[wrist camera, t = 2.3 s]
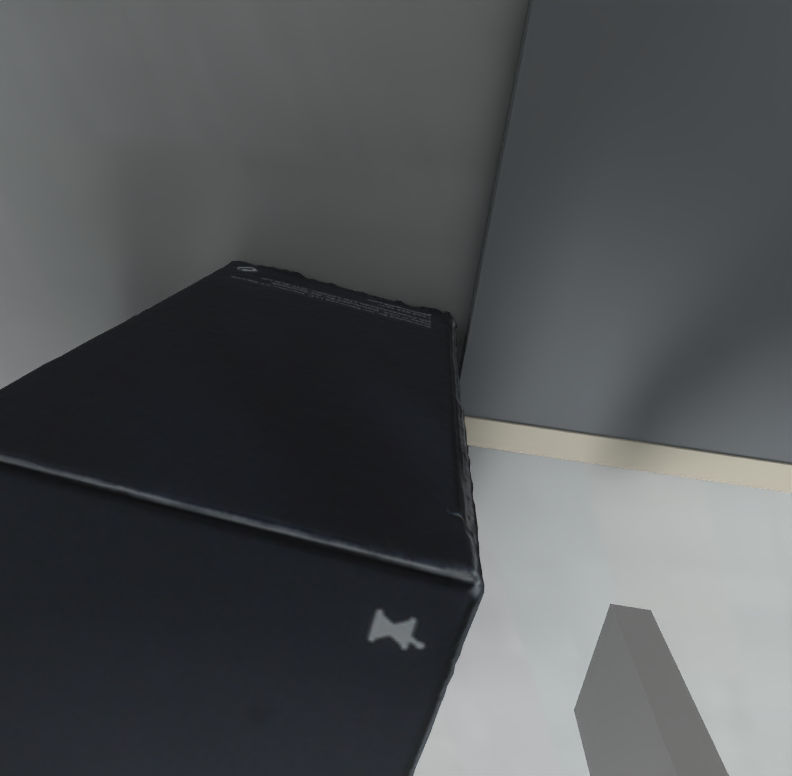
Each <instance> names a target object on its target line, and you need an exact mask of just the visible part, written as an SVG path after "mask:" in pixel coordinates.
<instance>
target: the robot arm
mask: <svg viewBox="0 0 792 776" xmlns="http://www.w3.org/2000/svg"><path fill="white" fill-rule="evenodd" d="M574 712H575V716H576V720H577V724H578V728H579V732H580V736H581V740H582V744H583V748H584V752H585V756H586V760H587V764H588V768H589V772H590V776H729V775H728V773H727V771H726V769H725V767H724V764H723V762H722V760H721V758H720V756H719V754H718V752H717V750H716V748H715V745H714V743H713V741H712V739H711V737H710V735H709V733H708V731H707V729H706V726H705V724H704V722H703V720H702V718H701V716H700V714H699V712H698V709H697V707H696V705H695V703H694V701H693V699H692V697H691V695H690V693H689V690H688V688H687V686H686V684H685V682H684V680H683V678H682V676H681V673H680V671H679V669H678V667H677V665H676V663H675V661H674V659H673V657H672V654H671V652H670V650H669V648H668V646H667V644H666V642H665V640H664V637H663V635H662V633H661V631H660V629H659V627H658V625H657V623H656V621H655V618H654V616H653V614H652V612H651V610H645V609H639V608H633V607H626V606H620V605H614V604H610V607H609V609H608V612H607V615H606V618H605V621H604V624H603V627H602V630H601V633H600V636H599V639H598V642H597V645H596V647H595V650H594V653H593V656H592V659H591V662H590V665H589V668H588V671H587V674H586V677H585V680H584V683H583V685H582V688H581V691H580V694H579V697H578V700H577V703H576V706H575V709H574Z"/></svg>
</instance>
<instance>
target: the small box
mask: <svg viewBox="0 0 792 776" xmlns="http://www.w3.org/2000/svg"><path fill="white" fill-rule="evenodd" d="M456 328H457V325H456V322H455V321H454V319H453V317H452V316H451V315H450V313H449V312H444V313H442V312H440V311H439V310H437V309H433V308H426V307H412V306H408V305H406V304H404V303H403V302H402V301H398V300H397V301H390V300H386V299H384V298H379V297H376V296H370V295H367V294H366V293H364V292H354V291H352V290H349V289H344V288H341V287H338V286H336V285H334V284H333V283H323V282H318V281H316V280H313V279H307V278H305V277H304V276H303V275H301V274H299V273H297V272H290V271H287V270H280V269H277V268H273V267H265V266H255V265H252V264H248V263H245V262H241V261H232V262H231V263H229V264H228V265H226V266H225V267H223V268H221V269H219V270H217V271H215V272H214V273H212V274H211V275H209V276H207V277H205V278H203V279H201V280H199V281H198V282H196V283H194V284H193V285H191V286H189V287H187V288H185V289H183V290H181V291H179V292H178V293H176V294H174V295H173V296H171V297H169V298H167V299H165V300H163V301H161V302H160V303H158V304H156V305H154V306H153V307H151V308H149V309H146V310H145V311H143V312H142V313H140V314H139V315H136V316H133V317H132V318H130V319H129V320H127V321H126V322H124V323H122V324H120V325H118V326H116V327H114V328H112V329H110V330H108V331H106V332H104V333H102V334H101V335H99V336H97V337H95V338H93V339H91V340H89V341H87V342H86V343H84V344H82V345H80V346H78V347H76V348H75V349H73V350H71V351H69V352H68V353H66V354H64V355H62V356H61V357H58V358H56V359H54V360H52V361H50V362H48V363H46V364H44V365H42V366H41V367H39V368H37V369H35V370H34V371H32V372H30V373H29V374H27V375H25V376H23V377H22V378H20V379H18V380H16V381H15V382H13V383H11V384H9V385H8V386H6V387H4V388H3V389H1V390H0V776H413V774H414V771H415V768H416V765H417V763H418V761H419V758H420V756H421V754H422V751H423V749H424V746H425V744H426V742H427V739H428V737H429V734H430V732H431V729H432V726H433V724H434V721H435V718H436V715H437V713H438V710H439V707H440V705H441V702H442V700H443V697H444V695H445V692H446V688H447V685H448V683H449V681H450V680H451V678H452V676H453V673H454V667H455V664H456V662H457V660H458V658H459V656H460V653H461V650H462V646H463V644H464V641H465V639H466V636H467V634H468V631H469V629H470V626H471V624H472V621H473V619H474V616H475V614H476V611H477V609H478V606H479V604H480V601H481V599H482V596H483V594H484V582H483V578H482V569H481V563H480V557H479V542H478V526H477V519H476V512H475V504H474V501H473V494H472V493H473V483H472V480H471V473H470V459H469V457H468V445H467V433H466V426H465V422H464V421H465V416H464V410H463V407H462V404H461V399H460V398H461V395H460V383H459V382H460V380H459V376H458V374H459V368H458V364H457V337H456V333H457V331H456Z"/></svg>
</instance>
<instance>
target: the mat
mask: <svg viewBox="0 0 792 776" xmlns="http://www.w3.org/2000/svg"><path fill="white" fill-rule="evenodd" d="M458 376H459V380H460V382H459V383H460V395H461V398H460V399H461V404H462V407H463V410H464V416H465V421H464V422H465V426H466V433H467V445H469V446H476V447H483V448H490V449H496V450H503V451H510V452H517V453H524V454H530V455H537V456H544V457H551V458H557V459H564V460H571V461H578V462H585V463H591V464H598V465H605V466H612V467H619V468H625V469H632V470H639V471H646V472H653V473H659V474H666V475H673V476H680V477H687V478H693V479H700V480H707V481H714V482H720V483H727V484H734V485H741V486H748V487H754V488H761V489H768V490H775V491H782V492H788V493H792V0H530V2H529V7H528V12H527V17H526V23H525V28H524V33H523V38H522V44H521V49H520V54H519V59H518V64H517V70H516V75H515V80H514V85H513V91H512V96H511V101H510V106H509V112H508V117H507V122H506V127H505V132H504V138H503V143H502V148H501V153H500V159H499V164H498V169H497V174H496V180H495V185H494V190H493V195H492V200H491V206H490V211H489V216H488V221H487V227H486V232H485V237H484V242H483V248H482V253H481V258H480V263H479V268H478V274H477V279H476V284H475V289H474V295H473V300H472V305H471V310H470V316H469V321H468V326H467V331H466V336H465V342H464V347H463V352H462V357H461V363H460V368H459V374H458Z"/></svg>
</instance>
